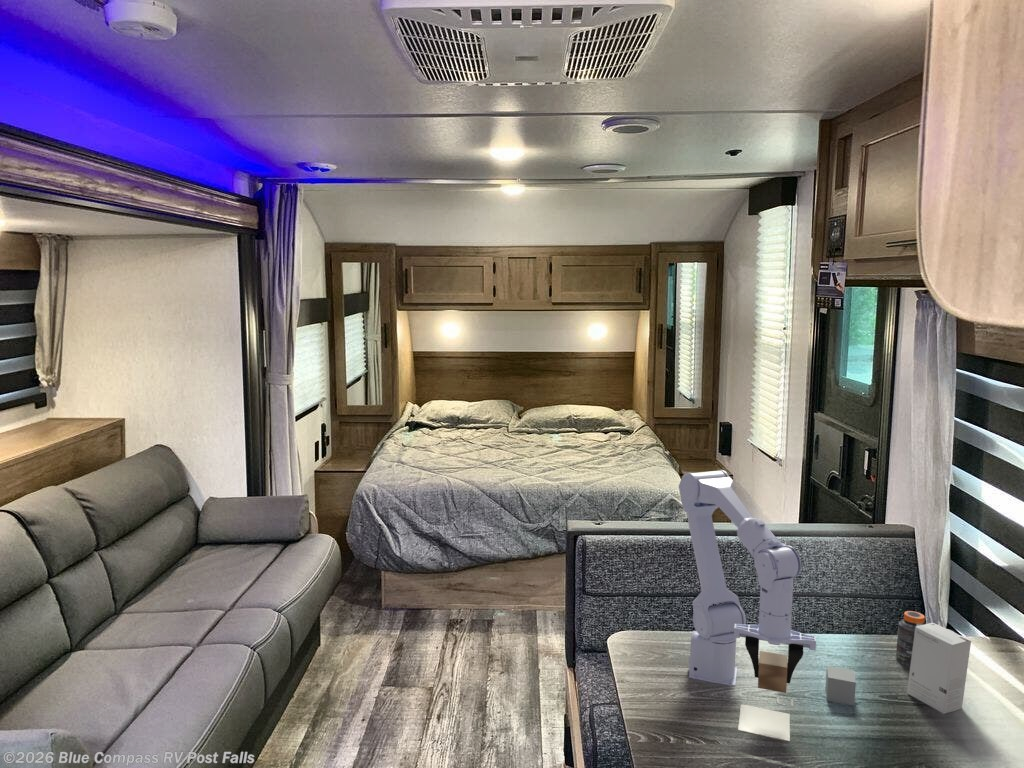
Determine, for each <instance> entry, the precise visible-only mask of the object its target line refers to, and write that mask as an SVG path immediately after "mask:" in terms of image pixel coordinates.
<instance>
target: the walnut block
mask: <svg viewBox="0 0 1024 768" xmlns="http://www.w3.org/2000/svg"><path fill="white" fill-rule="evenodd" d="M758 657H759V674H758V678H757V688H758V689H762V690H767V691H773V692H778V693H784V694H787V686H788V685H787V684H788V683H787V663H788V654H782V653H776V652H775V653H774V652H771V651H770V652H769V651H764V650H759V653H758Z"/></svg>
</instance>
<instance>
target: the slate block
mask: <svg viewBox="0 0 1024 768" xmlns="http://www.w3.org/2000/svg"><path fill="white" fill-rule="evenodd" d="M825 674H826V677H825V687H824V688H825V697H826V701H828V702H830V703H837V704H842V705H847V706H851V707H852V706H853V707H855V704H856V703H855V700H856V689H857V688H856V686H857V681H856V676H855V671H854V670H853V669H847V668H845V667H844V668H843V667H836V666H832V665H826V673H825Z"/></svg>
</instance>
